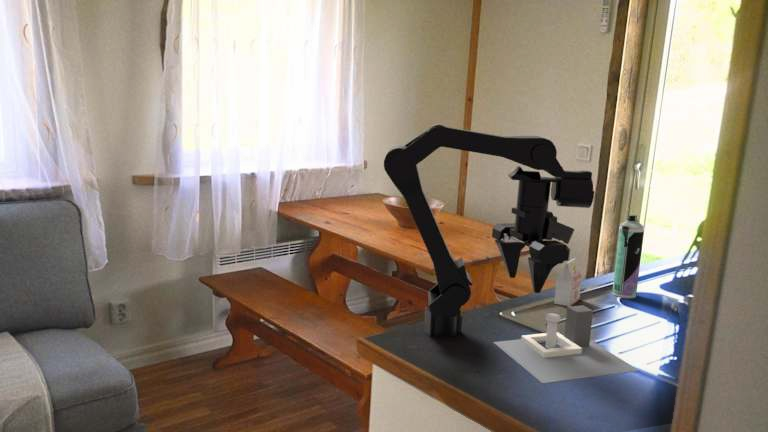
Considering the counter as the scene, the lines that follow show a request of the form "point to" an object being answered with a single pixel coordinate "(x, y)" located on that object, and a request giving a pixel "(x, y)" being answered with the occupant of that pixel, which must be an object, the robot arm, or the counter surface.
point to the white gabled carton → (568, 284)
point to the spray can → (628, 258)
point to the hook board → (564, 358)
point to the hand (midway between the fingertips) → (524, 284)
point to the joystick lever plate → (566, 334)
